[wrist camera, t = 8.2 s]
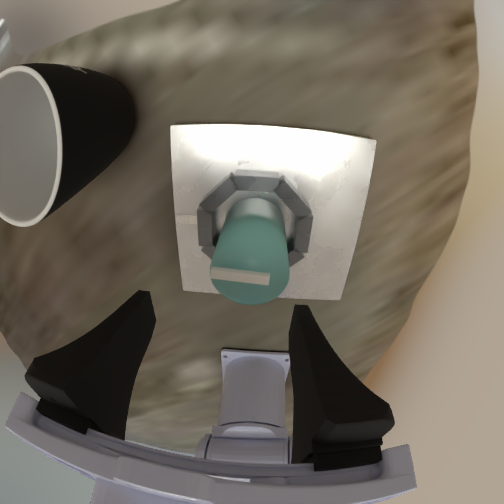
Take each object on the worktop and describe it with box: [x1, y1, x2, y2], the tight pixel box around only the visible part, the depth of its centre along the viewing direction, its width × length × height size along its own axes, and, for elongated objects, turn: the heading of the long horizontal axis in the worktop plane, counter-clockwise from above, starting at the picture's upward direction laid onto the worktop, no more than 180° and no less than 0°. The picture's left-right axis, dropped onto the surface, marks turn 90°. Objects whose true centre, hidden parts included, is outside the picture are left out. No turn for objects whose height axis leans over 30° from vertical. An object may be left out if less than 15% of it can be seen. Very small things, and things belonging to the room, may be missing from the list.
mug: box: [0, 63, 134, 227], centre depth 13 cm, size 12×9×10 cm
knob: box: [210, 198, 290, 305], centre depth 18 cm, size 4×4×6 cm
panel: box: [171, 123, 376, 300], centre depth 20 cm, size 14×14×3 cm
